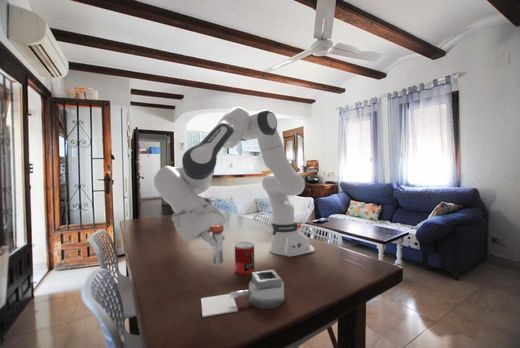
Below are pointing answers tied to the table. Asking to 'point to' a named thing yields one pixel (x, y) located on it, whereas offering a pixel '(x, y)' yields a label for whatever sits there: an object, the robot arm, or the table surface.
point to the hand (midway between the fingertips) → (219, 242)
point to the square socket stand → (264, 290)
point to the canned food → (244, 258)
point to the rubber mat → (218, 305)
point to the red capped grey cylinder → (218, 247)
